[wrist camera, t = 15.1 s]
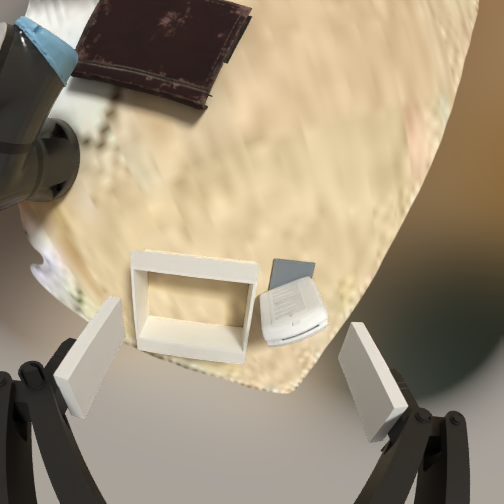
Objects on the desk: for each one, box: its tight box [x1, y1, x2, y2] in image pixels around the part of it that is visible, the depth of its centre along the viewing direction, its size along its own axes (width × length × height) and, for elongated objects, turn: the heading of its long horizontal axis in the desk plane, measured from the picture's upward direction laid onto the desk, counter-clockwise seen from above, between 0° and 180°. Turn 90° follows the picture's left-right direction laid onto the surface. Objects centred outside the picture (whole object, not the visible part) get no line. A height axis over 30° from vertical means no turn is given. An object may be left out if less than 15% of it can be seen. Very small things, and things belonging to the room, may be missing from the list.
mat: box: [269, 258, 315, 290], centre depth 51 cm, size 7×12×1 cm, turn 172°
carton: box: [130, 249, 260, 364], centre depth 47 cm, size 19×19×7 cm
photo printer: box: [260, 276, 328, 347], centre depth 45 cm, size 10×4×12 cm, turn 113°
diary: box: [70, 0, 252, 110], centre depth 33 cm, size 19×25×5 cm
